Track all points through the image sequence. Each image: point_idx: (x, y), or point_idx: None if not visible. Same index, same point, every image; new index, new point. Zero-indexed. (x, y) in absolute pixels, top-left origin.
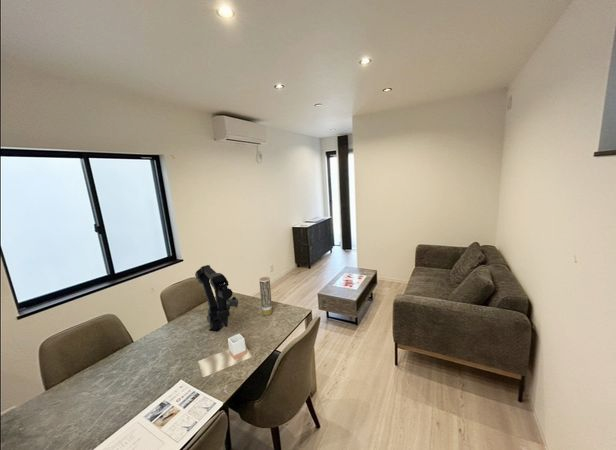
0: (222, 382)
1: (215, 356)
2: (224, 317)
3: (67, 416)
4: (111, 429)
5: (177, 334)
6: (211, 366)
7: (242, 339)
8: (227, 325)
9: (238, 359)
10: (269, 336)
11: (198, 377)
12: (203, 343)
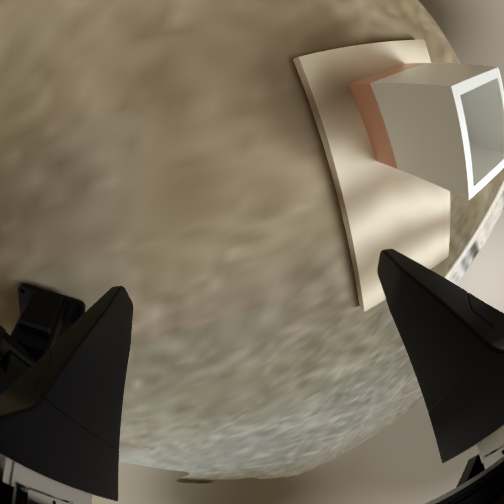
0: None
1: (369, 242)
2: (490, 383)
3: (376, 428)
4: None
5: (132, 435)
6: (420, 241)
7: (500, 82)
8: (404, 255)
9: None
10: None
11: None
12: (206, 344)
